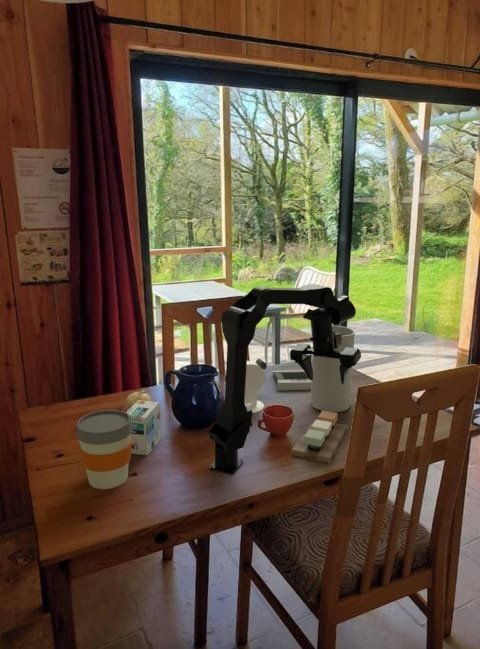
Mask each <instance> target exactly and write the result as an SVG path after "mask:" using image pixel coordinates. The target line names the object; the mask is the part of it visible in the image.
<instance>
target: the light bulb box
mask: <svg viewBox="0 0 480 649" xmlns="http://www.w3.org/2000/svg"><path fill="white" fill-rule="evenodd" d="M125 412H126V413H128V414H129V415H130V417H131V423H132V428H133V429H132V432H131V438H132V449H131V455H132V454H133V455H142V456H149V454H150V453H151V452H152V450H153V449H154V448H155V446H156V445H157V444H158V443H159V442H160V441H161V439H162V417H161V416H162V414H161V413H162V412H161V402H160V401H152V402H151V401H142V400H138V401H137V402H136V403H135V404H134V405H133V406H132V407H131V408H130V409H129V410H127V411H125Z"/></svg>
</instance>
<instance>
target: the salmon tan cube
mask: <svg viewBox="0 0 480 649" xmlns="http://www.w3.org/2000/svg"><path fill="white" fill-rule="evenodd" d="M338 413H339V412H337V413H333V412H328V411H320V413H319V415H318V417H317V418H318V419H317V420H322V421H327V422H332V426H334V424H335V423H337V421H338Z"/></svg>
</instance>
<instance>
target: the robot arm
mask: <svg viewBox="0 0 480 649" xmlns="http://www.w3.org/2000/svg"><path fill="white" fill-rule="evenodd" d="M270 305H306V306H310V307H315V309H311V308H307V311H306V312H305V313H304V314H303V316H302V318H303V319H305V320H309V322H310V330H311V336H309V340H310V342H312V348H311V345H310V344H309V343H300V342H299V343H296V345H295V346H294V347H292V349H291V350H289V358H290V360H291V361H294V363H295V364H298V366H299V367H300V368H301V369H302V370H304V371H305V373H306V374H307V376H308V377H309V379H310V380H311V381H312V380H313V369H312V359H313V356H316V357H326V358H336V359H340V363H341V365H340V366H339V368H340V377H341V383H342V384H344V383H345V379H346V376H347V372H348V369H349V368H351V367H352V366H353V367H355V366H356V365H357V364H358V362H359V361H360V360H361V358H362V352H361V350H360V349H359V348H358V347H357V348H356V347H354V348H348V347H346V348H345V349H344V351H343V352H339V351H335V349H337V348H338V345H339V344H340V345H341V342H342V334H341V333H335V330H333V326H339V325H340V324H343V323H345V322H347V321H349V320H351V319H353V318H355V316H356V314H357V310H356V307H355V306H354V303H353V302H352V301H351V300H350V296H348V295H345V294H343V295H340V296H339V297H336V295H334V291H333V289H332V288H331V287H328V286H324V285H320V284H316V283H309V284H304V285H302V286H299V287H264V286H254V287H253V288H251V290H250V291H249V292H248V293H247V294H245V295H243V296H242V297H240V298H239V299H236V301H235V302H234V303H233V304H232V305H231V306H230V307H228V308H226V309H225V311H223V312H222V315H221V318H220V320H221V328H222V333H223V337H224V340H225V341H226V345H227V348H226V363H225V364H226V366H225V367H226V368H225V386H224V401H223V402H222V404H221V405H220V407H219V409H218V413H217V416H216V417H217V418H216V420H215V422H214V423H213V425H212V426H211V427H210V428H209V429H208V431H207V435H208V438H209V439H210V440H212V442H214V461H213V462H212V463H211V464H210V465H209V469H211V470H214V471H217V472H221V473H226V474H229V475H233V474H234V473H235V472H236V471H237V470H239V467H241V465H243V463H244V460H243V459H240V458H239V450H240V449H243V448H244V447H245V443H246V441H247V437H248V435H249V433H250V429H251V427H253V424H252V419H253V415H254V413H252V410H251V409H249V408H247V407H246V406H245V402H244V400H245V384H246V367H247V361H248V351H249V350H248V349H249V348H248V347H249V346H250V344H251V342H252V341H253V338H254V337H255V334H256V328H257V325H258V324H259V323H260V322H261V321H262V320H264V318H265V316H266V315H265V314H266V312H267V309H268V307H270ZM251 308H252V309H251ZM249 309H251V310H250V311H249Z"/></svg>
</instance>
